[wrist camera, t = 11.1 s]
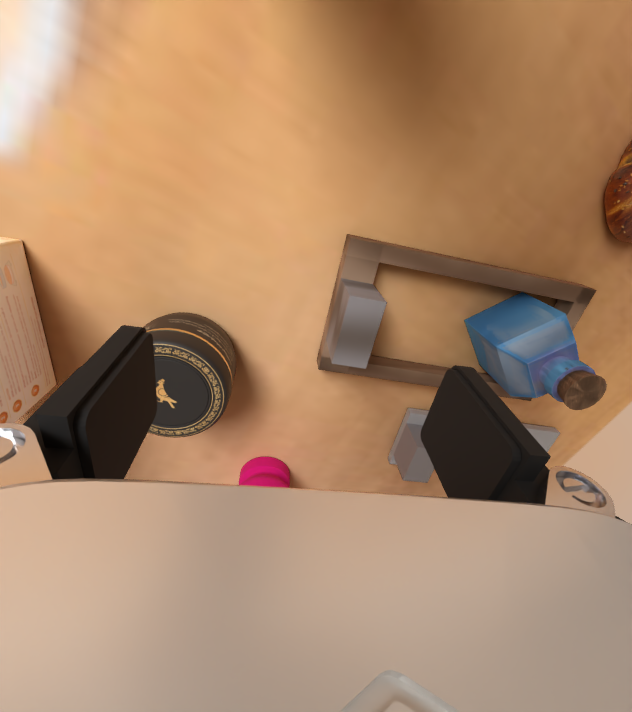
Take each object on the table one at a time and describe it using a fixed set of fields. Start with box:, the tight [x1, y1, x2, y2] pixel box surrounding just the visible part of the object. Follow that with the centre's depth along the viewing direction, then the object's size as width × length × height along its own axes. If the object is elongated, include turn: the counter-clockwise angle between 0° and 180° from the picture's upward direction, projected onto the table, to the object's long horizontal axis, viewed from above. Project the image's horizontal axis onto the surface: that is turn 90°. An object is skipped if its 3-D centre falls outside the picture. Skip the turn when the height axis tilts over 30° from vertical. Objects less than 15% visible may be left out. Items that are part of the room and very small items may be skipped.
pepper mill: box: [239, 457, 290, 488], centre depth 35 cm, size 7×7×20 cm
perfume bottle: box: [464, 292, 607, 410], centre depth 32 cm, size 6×6×12 cm
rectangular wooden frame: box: [317, 234, 596, 401], centre depth 33 cm, size 13×24×7 cm, turn 78°
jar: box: [143, 313, 236, 437], centre depth 32 cm, size 10×10×8 cm
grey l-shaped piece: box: [388, 408, 560, 483], centre depth 42 cm, size 8×20×5 cm, turn 78°
